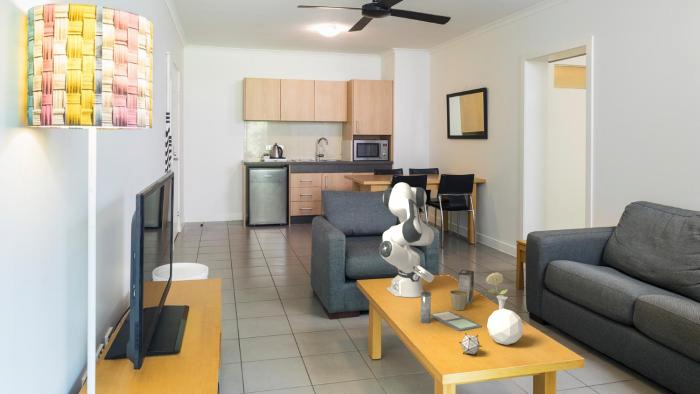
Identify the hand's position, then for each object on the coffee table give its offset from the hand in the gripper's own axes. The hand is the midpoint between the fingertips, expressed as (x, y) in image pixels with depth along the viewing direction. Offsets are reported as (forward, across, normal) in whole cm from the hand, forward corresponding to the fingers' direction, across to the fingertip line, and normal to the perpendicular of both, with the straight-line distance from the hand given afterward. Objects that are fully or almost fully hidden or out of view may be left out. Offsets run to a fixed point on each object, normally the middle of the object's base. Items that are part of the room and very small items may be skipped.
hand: (425, 274), depth 233 cm
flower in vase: (+37, -21, +1) cm, 43 cm away
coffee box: (+53, +14, +2) cm, 55 cm away
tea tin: (+17, -1, +19) cm, 25 cm away
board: (+27, -7, +11) cm, 30 cm away
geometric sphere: (+23, -37, +5) cm, 44 cm away
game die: (+5, -39, +16) cm, 42 cm away
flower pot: (+41, +6, +6) cm, 42 cm away
